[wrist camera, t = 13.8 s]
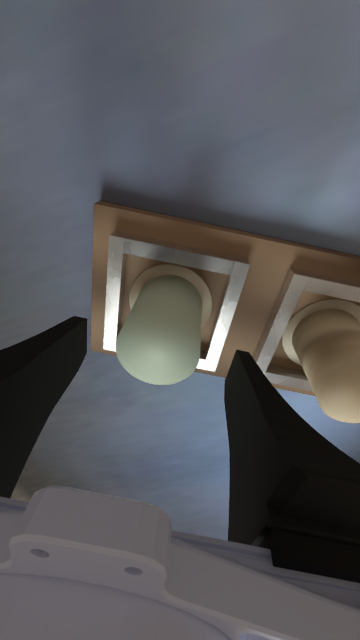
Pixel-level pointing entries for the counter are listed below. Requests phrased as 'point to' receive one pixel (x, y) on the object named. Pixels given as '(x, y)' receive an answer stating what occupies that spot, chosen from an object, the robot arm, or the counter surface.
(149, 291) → the sage peg
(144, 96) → the counter surface
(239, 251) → the board
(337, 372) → the ash peg
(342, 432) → the counter surface
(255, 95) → the counter surface
